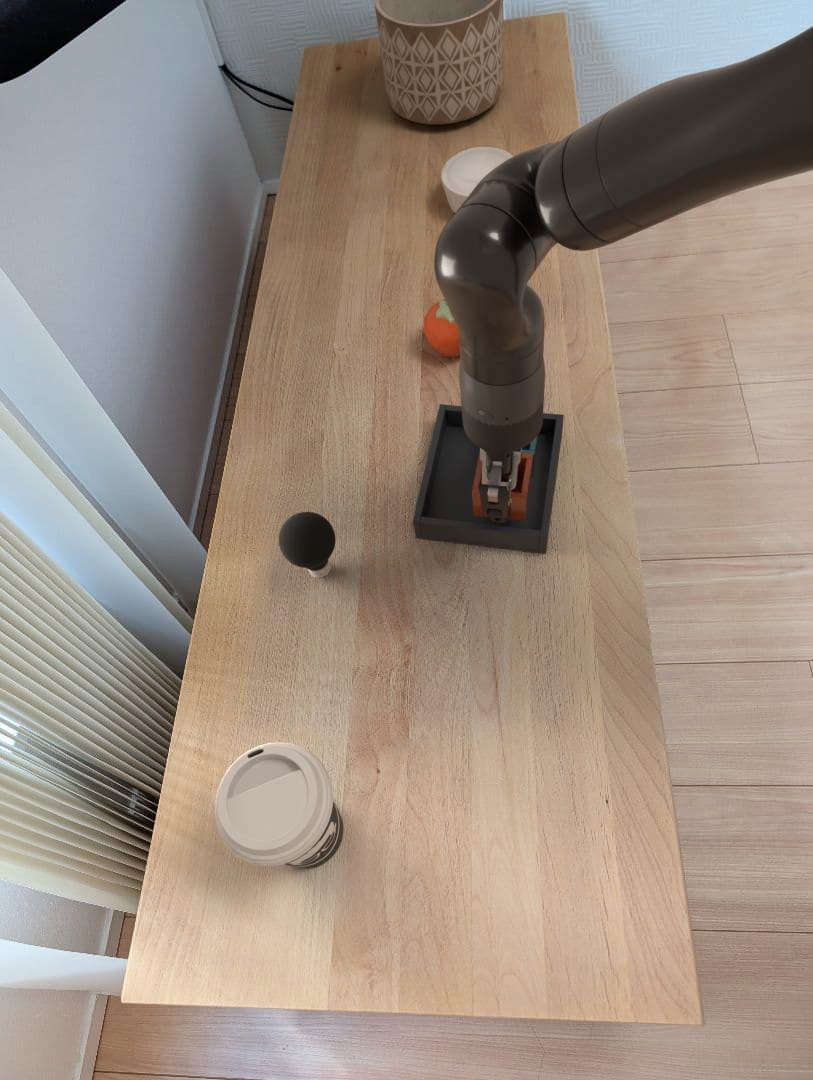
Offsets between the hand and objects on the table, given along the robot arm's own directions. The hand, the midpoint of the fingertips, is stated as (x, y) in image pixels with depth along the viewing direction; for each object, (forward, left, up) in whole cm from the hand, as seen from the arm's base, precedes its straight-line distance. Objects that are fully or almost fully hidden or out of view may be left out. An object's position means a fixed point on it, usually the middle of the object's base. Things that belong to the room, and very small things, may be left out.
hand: (503, 494), depth 84 cm
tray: (+2, -4, -4) cm, 6 cm away
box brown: (0, 0, -1) cm, 1 cm away
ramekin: (+11, -54, -5) cm, 55 cm away
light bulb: (+19, +10, -5) cm, 22 cm away
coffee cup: (+13, +37, -5) cm, 40 cm away
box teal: (0, -8, -4) cm, 9 cm away
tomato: (+10, -25, -5) cm, 27 cm away
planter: (+21, -80, -5) cm, 83 cm away
